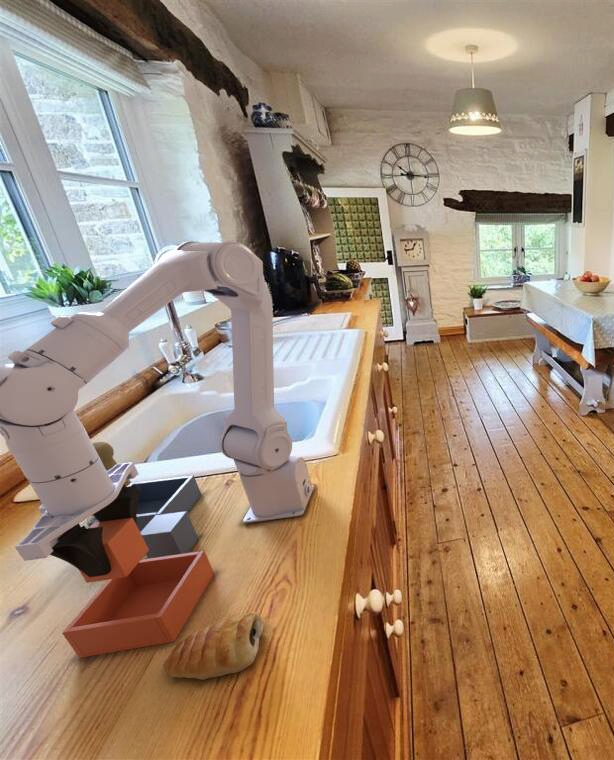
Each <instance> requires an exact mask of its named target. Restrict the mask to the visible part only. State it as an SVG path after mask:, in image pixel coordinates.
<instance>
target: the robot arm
mask: <svg viewBox="0 0 614 760" xmlns="http://www.w3.org/2000/svg"><path fill="white" fill-rule="evenodd" d="M263 265H264V263H263V260H261V258H260V257H258V256H257V255H256V254H255V253H254V252H253V251H252V250H251V249H250V248H249V247H248V246H246V245H244V244H243V243H241V242H238V241H233V240H231V241H229V240H228V241H223V242H216V241H215V242H212V241H210V242H205V241H204V242H203V241H202V242H200V241H193V240H189V241H185V242H182V243H181V244H179V245H178V246H176V247H175V249H174V250H170V251H167V252H166V253H163V255H162V256H160V258H159V259H158V261H157V262H156V263H155V264H153V266H152V267H150V268H149V269H148V270H147V271H146V272H145V273H143V274H142V275H141V276H139V277H138V278H137V279H136V280H135V281H134V282H132V283H131V284H130V285H129V286H128V287H126V288H125V289H124V290H123V291H122V292H121V293H120V294H119V295H117V296H116V297H115V298H113V300H111V301H110V302H109V303H108V304H107V305H105V306H104V307H103V308H102V309H101V310H99V311H98V312H93V313H91V312H76V313H74V314H72V315H71V316H70V317H69V316H64V315H60V316H58V317H57V318H55V319H54V320H52V321H51V322H50V325H51V326H52V327H54V328H53V329H52V330H51V331H49V332H48V333H46V334H45V335H44V336H42V337H41V338H39V339H38V340H37V341H36V342H34V343H33V344H31V345H30V346H28V348H26V349H25V350H23V351H20V350H14V351H13V352H12V353H10V354H9V355H8V356H7V359H9V360H10V361H12V362H11V363H9V364H3V365H1V366H0V435H1V436H2V437H3V439H4V440H5V445H6V447H7V449H8V451H9V452H10V454H11V455H12V457H13V459H14V460H15V462H16V464H17V465H18V468H19V469H20V470H21V472H22V473H23V475H24V477H25V478H26V480H27V482H28V483H29V485H30V486H31V487H32V489H33V491H34V493H35V494H36V496H37V498H38V499H39V501H40V503H41V504H40V505H39V506H38V507H37V509H38V511H39V513H41V516H40V517H39V519H38V520H37V521H36V522H35V524H34V525H33V527H32V528H31V529H30V531H29V532H28V534H27V535H26V536H25V537H24V538H23V539H22V540H21V541H20V542H19V543H17V544H16V545H15V546H14V548H15V549H16V551H17V553H19V555H20V557H21V558H22V560H23V561H26V562H27V561H34V560H40V559H47V558H48V557H49V556H51V557H54V558H57V559H59V560H62V561H64V562H66V563H68V564H70V565H71V566H73V567H75V568H76V569H77V570H78V569H79V570H80V571H82V572H83V573H85V574H86V575H87V576H88V577H95V576H102V575H107V574H108V573H109V572H110V571H111V565H110V561H109V559H108V557H107V555H106V553H105V550H104V547H103V541H102V530H103V527H95V528H89V527H86V526H85V525H82V526H81V524H80V523H82V522H83V521H85V520H87V519H88V518H90V517H91V516H93V517H95V518H96V519H97V520H98V521H99V522H103V521H111V520H119V519H127V518H133V519H134V521H135V523H136V525H137V505H138V500H139V497H140V494H141V491H140V489H139V487H138V486H129V487H126V486H125V484H124V482H126V481H127V480H128V479H129V480H133V479H135V478H136V477H137V476H138V475H139V471H138V469H137V467H136V465H135V463H134V462H132V461H131V462H124V463H117V464H116V465H115V466H114V467H113V468H111V469H109V470H108V471H106V469H105V467H104V465H103V463H102V461H101V459H100V457H99V455H98V454H97V452H96V450H95V448H94V446H93V444H92V443H93V442H92V440H91V438H90V436H89V434H88V432H87V431H86V428H85V427H84V425H83V422H82V421H81V420H80V419H79V416H78V415H77V413H76V411H75V408H76V406H77V404H78V401H79V391H80V390H81V389H83V388H84V387H85V386H86V385H87V384H88V383H90V382H91V381H92V380H93V379H95V377H97V376H98V375H99V374H100V373H102V371H104V370H105V369H106V368H107V367H108V366H109V365H111V364H112V363H113V362H114V361H116V360H117V359H118V358H119V357H120V356H121V355H122V354H123V353H125V352H126V351H127V350H129V348H130V332H132V331H133V330H135V329H136V328H137V327H138V326H140V325H141V324H142V323H144V322H145V321H147V320H148V319H149V318H151V317H153V315H155V314H156V313H157V312H158V311H161V309H163V308H164V307H166V306H167V305H169V303H171V302H172V301H174V300H175V299H177V298H178V297H179V296H181V295H182V294H185V293H189V292H190V293H191V292H199V291H203V292H207V293H208V294H211V295H212V296H214V297H215V298H216V299H217V300H219V302H221V303H222V304H223V305H225V306H226V307H227V308H228V309H230V319H231V345H232V346H231V349H232V350H231V351H232V375H233V376H232V377H233V378H232V379H233V407H234V408H233V410H232V411H231V412H230V413H229V414H228V415H227V416H226V417H225V418H224V429H223V432H222V434H221V436H220V439H219V449H220V451H221V453H222V454H223V455H224V457H226V458H228V459H231V460H233V463H234V464H235V466H236V470H237V472H238V476H239V478H240V481H241V484H242V487H243V489H244V493H245V496H246V498H247V501H248V504H249V506H250V508H249V509H248V511H247V512H246V513H245V516H244V518H243V519H242V522H243V524H250V523H257V522H258V523H259V522H264V521H265V522H266V521H272V520H278V519H286V518H294V517H300V516H302V515H303V514H304V513H305V512H306V511H305V510H306V508H307V506H308V503H309V501H310V499H311V496H312V495H313V491H314V489H315V485H314V484H313V483H312V480H311V476H310V473H309V469H308V466H307V462H306V460H305V458H304V457H303V456H292V455H291V454H292V450H293V440H292V437H291V436H290V434H289V432H288V431H289V430H288V422H287V421H286V419H285V418H284V417H283V415H281V414H280V412H279V411H278V410H277V409H276V408H275V382H274V381H275V380H274V379H275V377H274V376H275V375H274V373H275V372H274V326H273V325H274V322H273V319H274V318H273V317H274V316H273V315H274V314H273V298H272V295H271V292H270V291H269V288H268V286H267V283H266V281H265V278H264V266H263ZM79 570H78V571H79ZM80 571H79V572H80Z"/></svg>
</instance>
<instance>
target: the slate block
mask: <svg viewBox="0 0 614 760" xmlns="http://www.w3.org/2000/svg"><path fill="white" fill-rule="evenodd" d="M140 533H141V535H142V537H143V539H144V541H145V543H146V545H147V547H148V549H149V551H148V552H147V553H146V554H145V556H146V557H147V559H150V558H157V557H164V556H171V555H177V554H184V553H190V551H191V550H192V548H194V545H195V544H196V543H197V541H198V540H199V536H198V533H197V530H196V529H195V527H194V524H193V522H192V519H191V517H190V515H189V512H188V513H187V511H185V512H177V513H169V514H162V515H155V517H154V518H153V519H152V520H151V521H150V522H149V523H148V524H147V525H146V527H145V528H144V529H143V530H142V531H141V532H140Z"/></svg>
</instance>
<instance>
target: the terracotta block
mask: <svg viewBox="0 0 614 760" xmlns="http://www.w3.org/2000/svg"><path fill="white" fill-rule="evenodd" d="M95 527H103V530H102V541H103V547H104V550H105V553H106V555H107V557H108V559H109V561H110V565H111V571H110V572H109V573H108V574H107V575H102V576H95V577H88V576H87V575H86V574H85V573H83V572H82V571H80V570H79V569H78V568H77V570H78V571H79V572H80V575H81V577H82V578H83V579H84V582H85V583H87V584H89V583H96V582H102V581H107V580H110V579H117V578H124V577H127V576H128V575H129V574H130V572H131V571H132V570H133V569H134V568H135V566H136V565H137V564H138V563H139V562H140V560H143V558H144V557H145V556H146V553H147V552H148V551H149V549H148V547H147V545H146V543H145V541H144V539H143V537H142V535H141V533H140V531H139V529H138V527H137V525H136V523H135V521H134V519H133V518H127V519H119V520H111V521H103V522H95V523H93V524H92V525H91V526H90V527H89V526H88V528H95Z"/></svg>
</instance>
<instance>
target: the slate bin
mask: <svg viewBox="0 0 614 760" xmlns="http://www.w3.org/2000/svg"><path fill="white" fill-rule="evenodd" d="M129 486H138V487H139V489H140V491H141V494H140V497H139V500H138V505H137V527H138V529H139V531H140V532H141V531H142V530H143V529H144V528H145V527H146V525H147V524H148V523H149V522H150V521H151V520H152V519H153V518H154V517H155V515H162V514H169V513H177V512H185V511H187V513H188V514H189V512H190V510H191V509H192V508H193V507H194V505H196V503H197V502H198V500H199V499H200V498H201V497H202V496H203V494H202V492H201V490H200V487H199V485H198V482H197V480H196V476H195V475H185V476H177V477H170V478H168V477H167V478H161V479H153V480H144V481H136V482H131V483H130V484H129V485H128V486H127V487H129ZM95 522H99V521H98V520H97V519H96V518H95V517H94V516H93V517H92V518H91V519H90V520H89V521H87V526H88V528H89V527H90V526H91V525H92V524H93V523H95Z"/></svg>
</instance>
